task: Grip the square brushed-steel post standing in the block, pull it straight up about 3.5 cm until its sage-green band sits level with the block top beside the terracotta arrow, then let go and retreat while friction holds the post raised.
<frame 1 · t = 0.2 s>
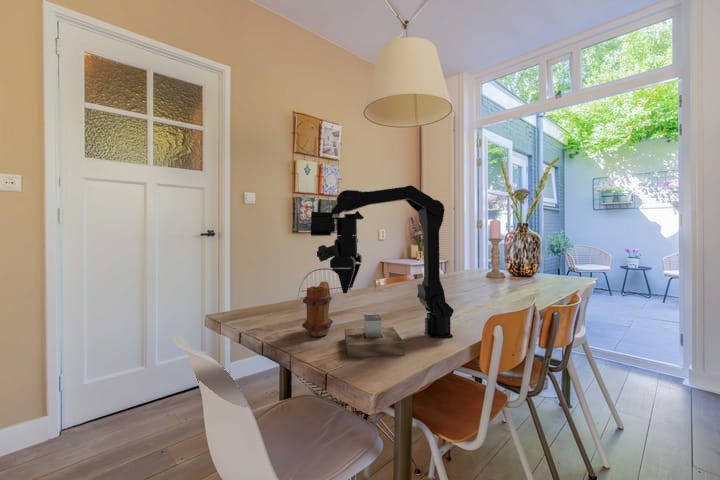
hand: (347, 290, 93), 14 cm above the table, fingers open, 9 cm apart
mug: (320, 332, 100), on the table
column: (372, 331, 87), point 4 cm above the table, slide at 0.0 cm
stand block: (372, 346, 87), on the table
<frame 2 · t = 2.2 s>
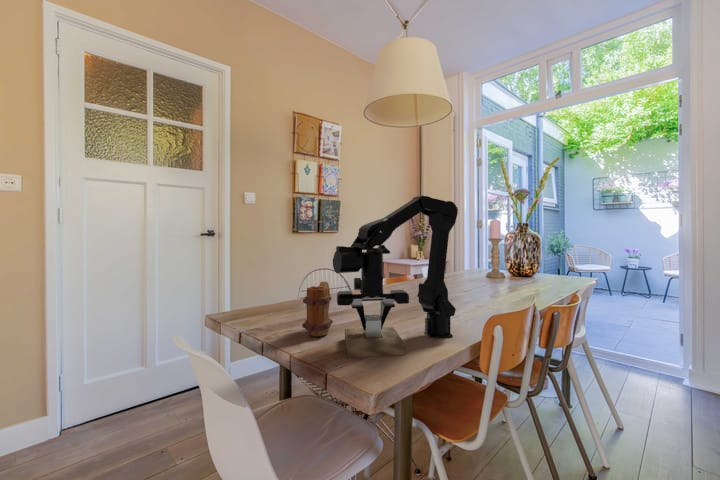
hand: (372, 329, 87), 5 cm above the table, fingers closed on column, 4 cm apart
column: (372, 331, 87), point 4 cm above the table, slide at 0.0 cm, touching gripper
everything else where it was.
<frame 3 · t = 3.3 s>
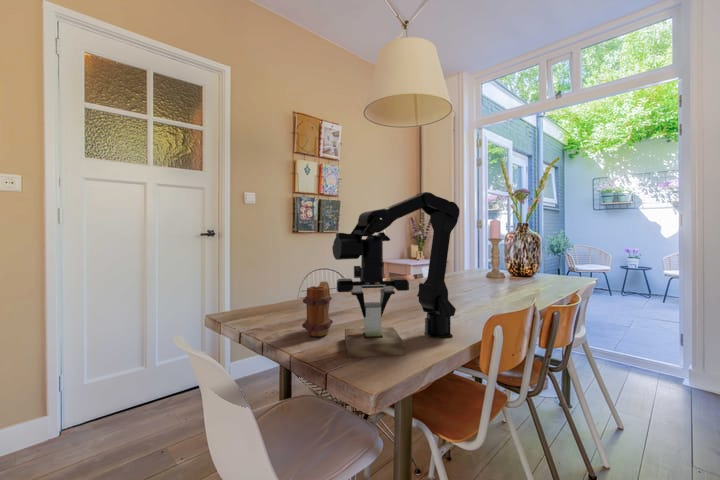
hand: (372, 316, 87), 8 cm above the table, fingers closed on column, 4 cm apart
column: (372, 318, 87), point 7 cm above the table, slide at 3.4 cm, touching gripper
everything else where it was.
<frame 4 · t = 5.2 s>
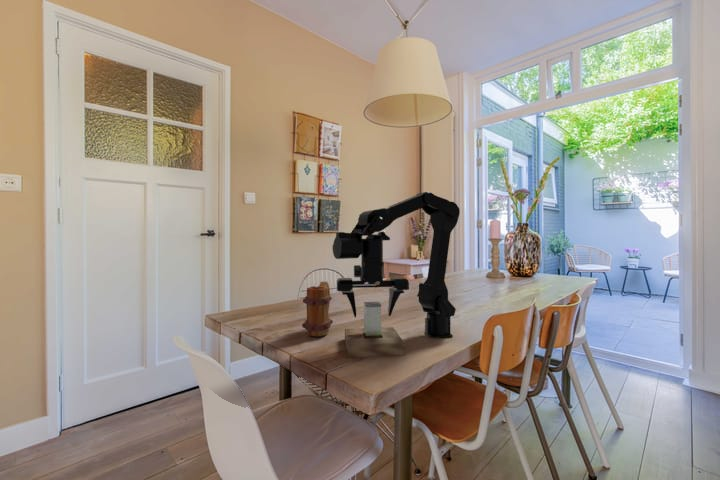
hand: (372, 316, 87), 8 cm above the table, fingers open, 9 cm apart
column: (372, 318, 87), point 8 cm above the table, slide at 3.6 cm
everything else where it was.
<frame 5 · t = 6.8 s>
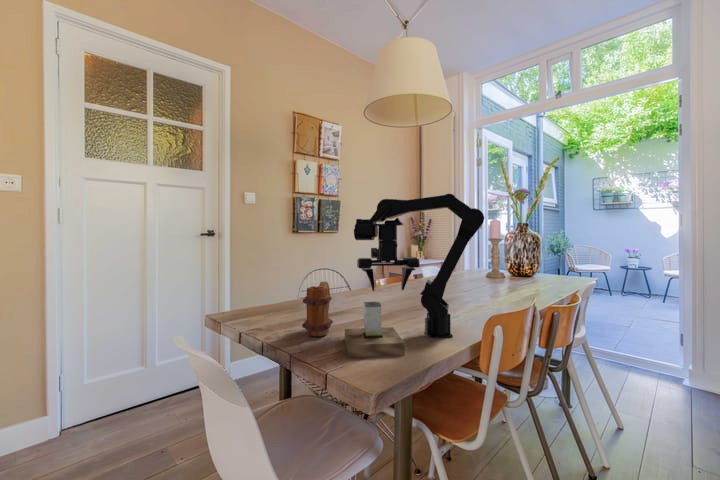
hand: (387, 290, 101), 12 cm above the table, fingers open, 9 cm apart
nothing on the table moved.
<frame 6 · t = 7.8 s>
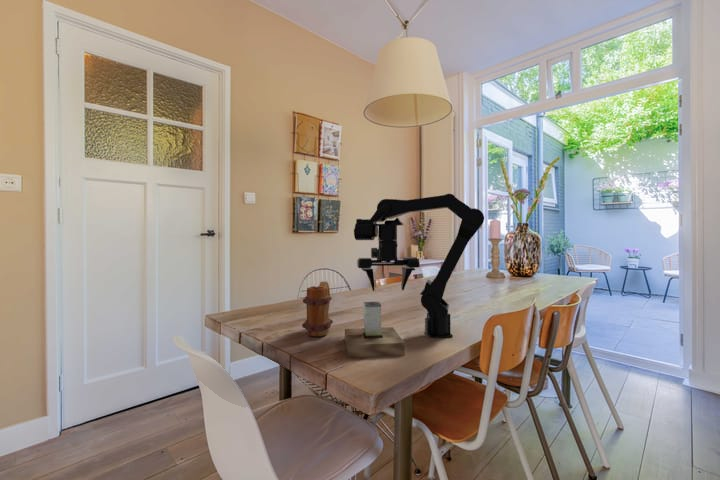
hand: (388, 290, 101), 13 cm above the table, fingers open, 9 cm apart
nothing on the table moved.
at the end: column slide at 3.6 cm; the gripper is holding nothing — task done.
